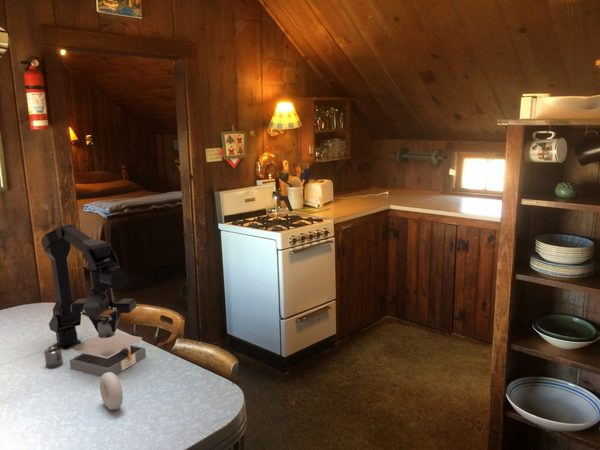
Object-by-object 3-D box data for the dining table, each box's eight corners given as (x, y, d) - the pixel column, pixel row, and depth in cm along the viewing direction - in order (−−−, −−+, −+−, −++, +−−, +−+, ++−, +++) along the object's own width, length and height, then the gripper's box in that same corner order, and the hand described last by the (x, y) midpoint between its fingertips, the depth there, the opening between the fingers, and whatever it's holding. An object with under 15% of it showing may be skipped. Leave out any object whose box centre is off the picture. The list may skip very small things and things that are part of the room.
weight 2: (95, 336, 161) (93, 317, 160) (106, 331, 165) (105, 312, 164) (106, 339, 159) (104, 319, 158) (118, 333, 163) (116, 314, 162)
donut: (126, 412, 137) (123, 378, 135) (113, 418, 135) (110, 382, 133) (112, 398, 144) (108, 365, 142) (99, 402, 142) (95, 369, 140)
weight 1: (42, 367, 164) (40, 348, 163) (55, 360, 168) (53, 342, 167) (53, 369, 162) (51, 351, 161) (66, 363, 166) (64, 345, 165)
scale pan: (72, 360, 162) (70, 348, 161) (108, 341, 175) (106, 330, 174) (112, 369, 155) (111, 357, 154) (147, 349, 168) (146, 338, 168)
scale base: (70, 369, 162) (69, 359, 162) (108, 348, 176) (107, 339, 176) (110, 378, 155) (109, 368, 155) (146, 356, 170) (146, 347, 169)
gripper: (58, 292, 152) (64, 342, 155) (119, 292, 150) (124, 342, 153) (77, 280, 163) (82, 327, 166) (135, 280, 161) (139, 328, 164)
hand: (106, 331), depth 162 cm, fingers closed on weight 2, 5 cm apart
